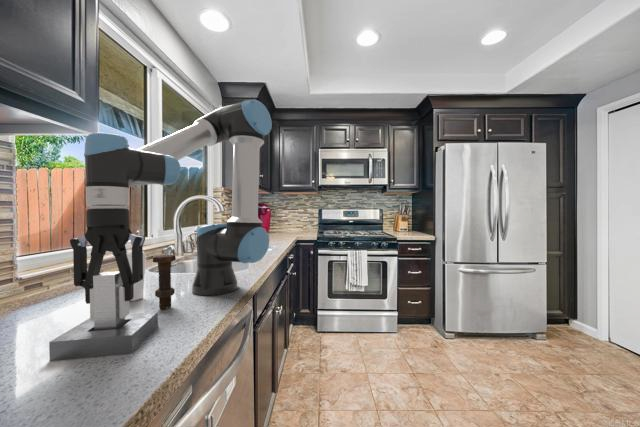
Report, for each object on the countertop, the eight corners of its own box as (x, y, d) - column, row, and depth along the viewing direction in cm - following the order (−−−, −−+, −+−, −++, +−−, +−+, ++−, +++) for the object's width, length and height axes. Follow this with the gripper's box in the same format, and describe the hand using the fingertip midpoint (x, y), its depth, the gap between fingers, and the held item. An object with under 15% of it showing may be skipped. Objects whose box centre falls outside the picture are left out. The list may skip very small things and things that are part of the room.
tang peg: (105, 336, 65) (103, 272, 65) (125, 334, 65) (123, 271, 65) (94, 344, 61) (93, 275, 61) (116, 342, 62) (114, 274, 61)
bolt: (150, 309, 85) (149, 256, 85) (166, 304, 89) (165, 254, 89) (163, 311, 82) (162, 257, 82) (179, 306, 86) (178, 255, 86)
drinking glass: (125, 297, 97) (124, 251, 97) (148, 295, 99) (147, 250, 99) (118, 303, 91) (117, 254, 91) (143, 301, 93) (142, 253, 93)
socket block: (92, 331, 69) (92, 316, 69) (158, 326, 71) (157, 311, 71) (49, 360, 55) (49, 342, 55) (132, 353, 58) (132, 335, 58)
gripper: (47, 208, 58) (49, 327, 58) (147, 206, 61) (149, 319, 61) (72, 208, 65) (74, 314, 65) (159, 207, 68) (161, 308, 68)
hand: (110, 316), depth 63 cm, fingers open, 5 cm apart
